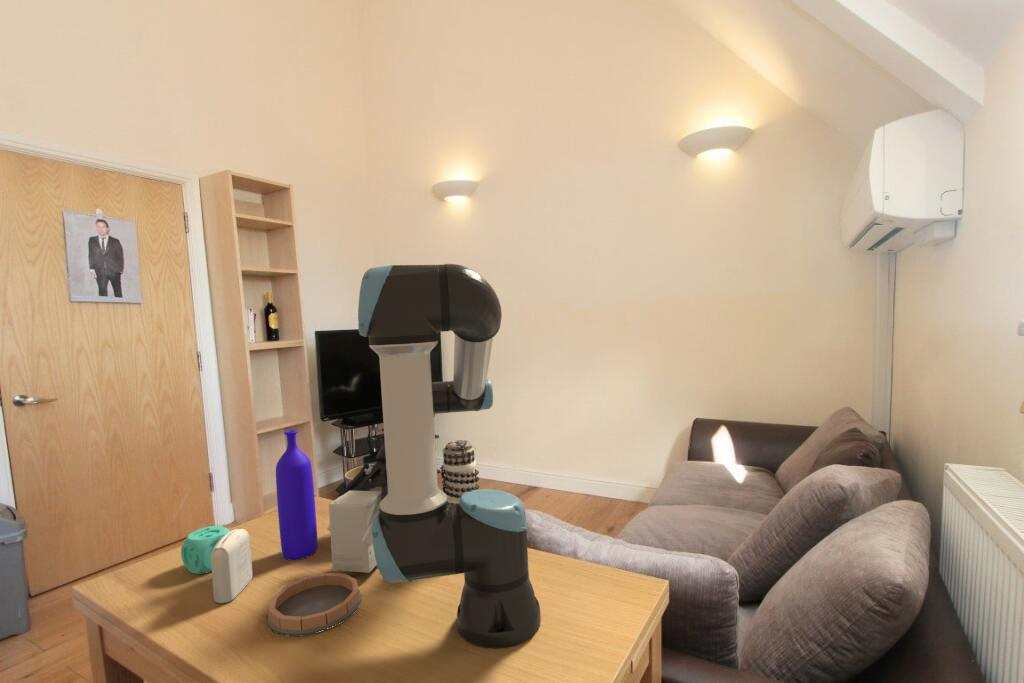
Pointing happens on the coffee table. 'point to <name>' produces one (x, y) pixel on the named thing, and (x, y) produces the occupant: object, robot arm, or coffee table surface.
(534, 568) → the coffee table surface
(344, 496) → the supplement box
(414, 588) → the coffee table surface
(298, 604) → the ringed saucer
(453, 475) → the decorative candle
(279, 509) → the bottle
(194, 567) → the mint green rounded piece
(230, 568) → the photo printer
